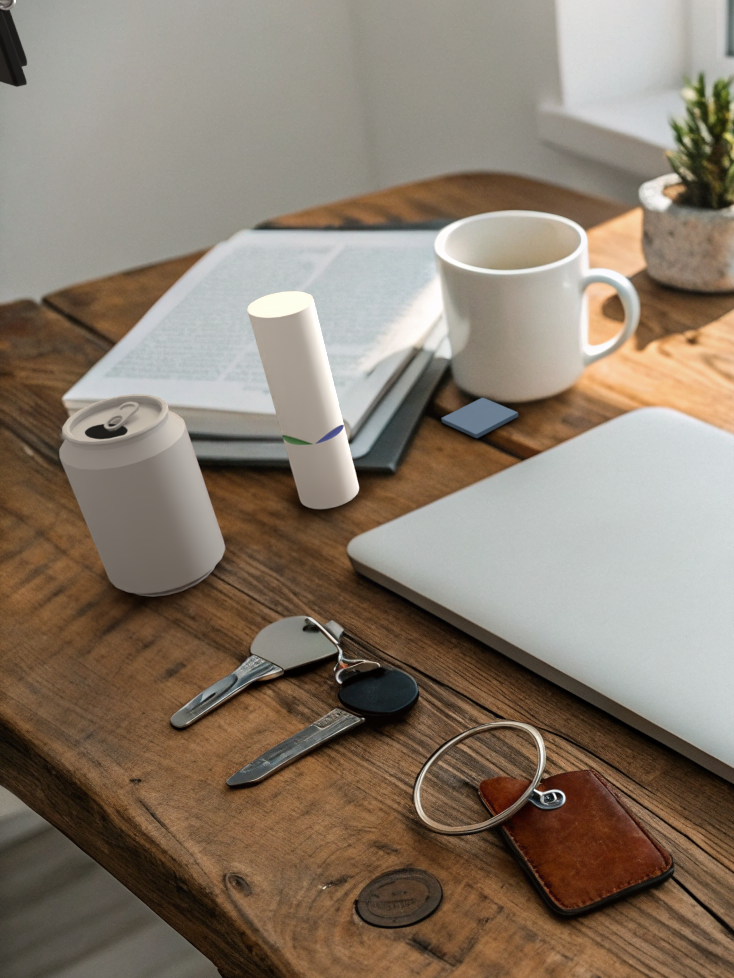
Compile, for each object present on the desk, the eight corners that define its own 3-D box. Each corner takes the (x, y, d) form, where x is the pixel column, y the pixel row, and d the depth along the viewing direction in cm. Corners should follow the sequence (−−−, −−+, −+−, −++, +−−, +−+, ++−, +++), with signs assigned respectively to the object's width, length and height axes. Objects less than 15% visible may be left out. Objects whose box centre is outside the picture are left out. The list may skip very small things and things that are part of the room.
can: (87, 593, 77) (21, 436, 71) (165, 531, 83) (110, 380, 77) (178, 613, 75) (118, 452, 68) (251, 547, 81) (203, 393, 74)
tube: (299, 483, 88) (247, 297, 79) (357, 473, 88) (312, 287, 80) (300, 513, 84) (246, 321, 76) (360, 502, 85) (314, 311, 77)
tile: (476, 438, 92) (476, 434, 92) (441, 422, 94) (440, 418, 94) (518, 416, 95) (518, 412, 94) (483, 401, 97) (482, 397, 97)
